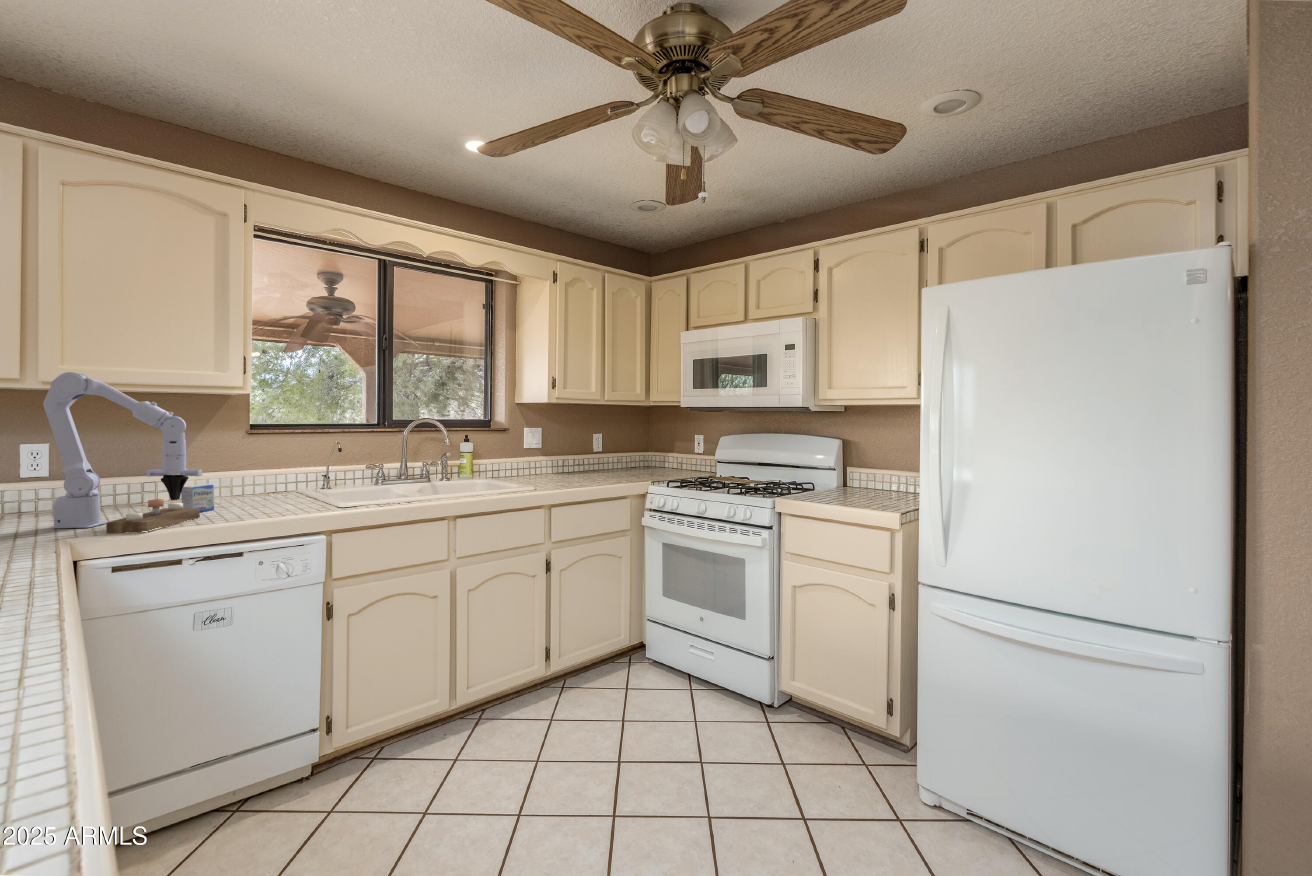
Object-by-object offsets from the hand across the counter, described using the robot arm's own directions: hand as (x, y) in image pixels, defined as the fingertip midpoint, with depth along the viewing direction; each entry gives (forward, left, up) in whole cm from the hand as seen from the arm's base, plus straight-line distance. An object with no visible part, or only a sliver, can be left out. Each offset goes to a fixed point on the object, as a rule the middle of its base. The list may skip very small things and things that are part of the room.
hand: (175, 499), depth 187 cm
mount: (0, -9, -6) cm, 11 cm away
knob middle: (0, -9, -3) cm, 10 cm away
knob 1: (0, -18, -6) cm, 19 cm away
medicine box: (-2, +15, -6) cm, 16 cm away
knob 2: (0, 0, -6) cm, 6 cm away
